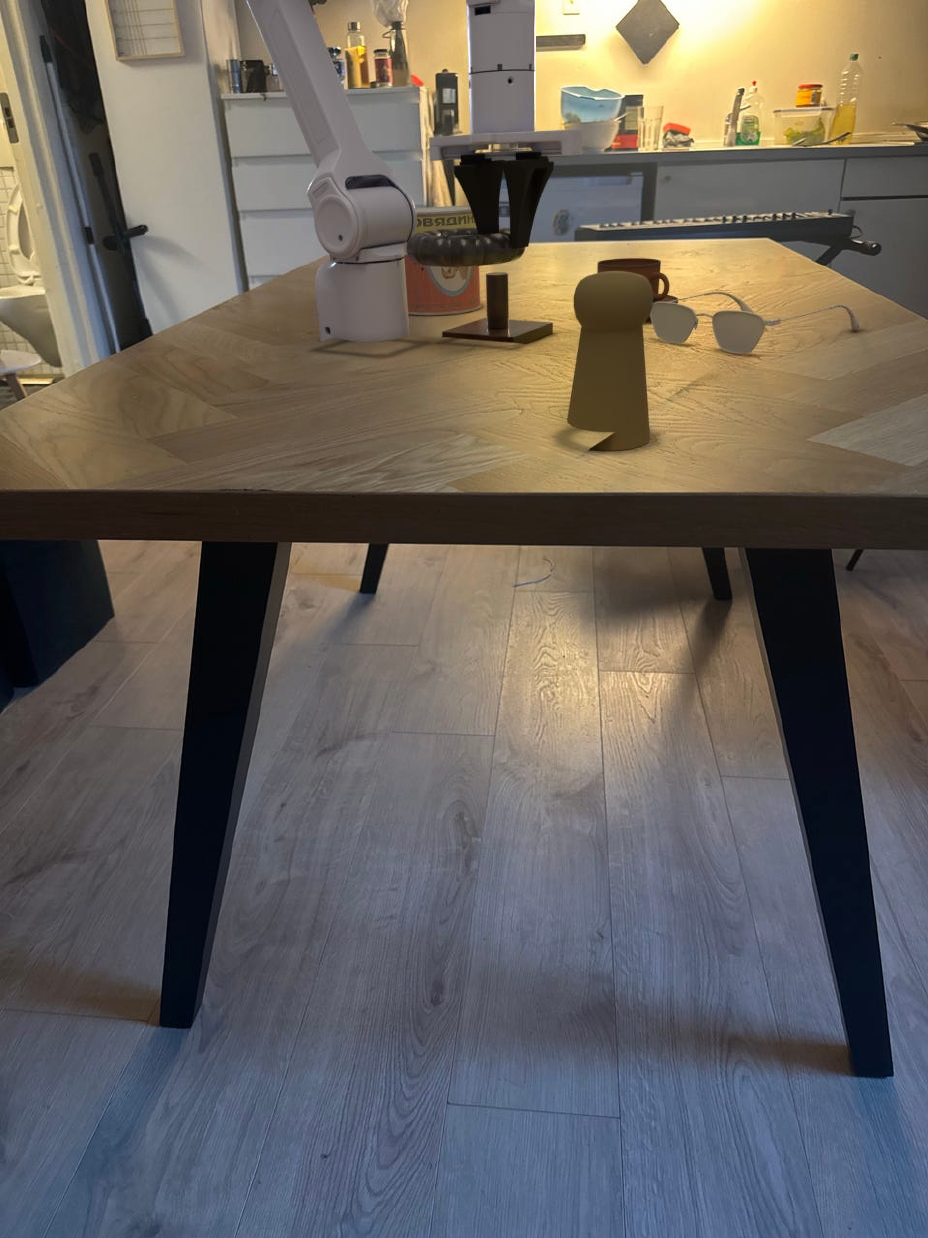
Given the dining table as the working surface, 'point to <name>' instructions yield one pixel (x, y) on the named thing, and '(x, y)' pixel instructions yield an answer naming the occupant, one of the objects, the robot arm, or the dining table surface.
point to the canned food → (442, 270)
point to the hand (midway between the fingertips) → (504, 247)
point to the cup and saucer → (644, 268)
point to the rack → (500, 318)
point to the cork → (611, 359)
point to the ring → (462, 248)
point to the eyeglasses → (718, 324)
